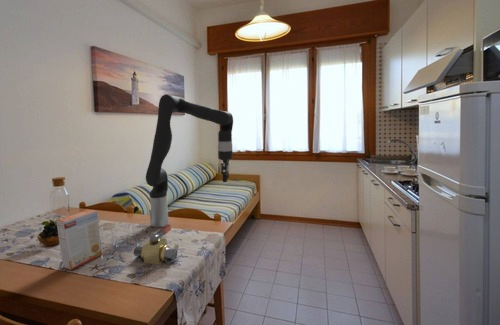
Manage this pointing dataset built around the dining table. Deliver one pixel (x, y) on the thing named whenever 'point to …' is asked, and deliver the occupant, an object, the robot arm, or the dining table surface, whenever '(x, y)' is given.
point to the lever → (159, 234)
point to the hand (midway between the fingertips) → (225, 180)
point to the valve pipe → (155, 252)
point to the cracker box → (79, 238)
